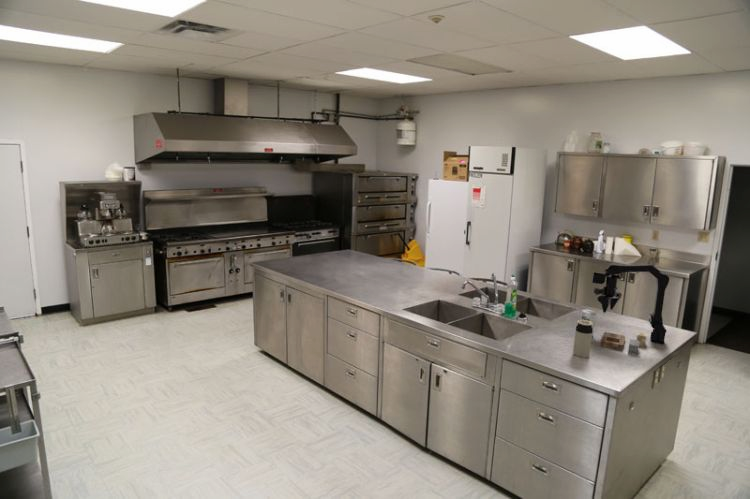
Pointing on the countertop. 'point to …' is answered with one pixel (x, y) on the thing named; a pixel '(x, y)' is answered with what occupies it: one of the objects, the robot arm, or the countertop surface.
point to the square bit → (641, 339)
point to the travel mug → (583, 338)
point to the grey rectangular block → (633, 347)
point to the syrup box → (589, 317)
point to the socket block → (612, 341)
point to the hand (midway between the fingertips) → (607, 311)
